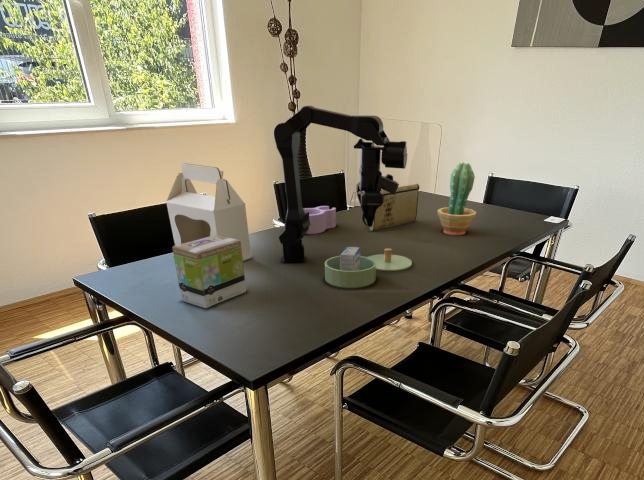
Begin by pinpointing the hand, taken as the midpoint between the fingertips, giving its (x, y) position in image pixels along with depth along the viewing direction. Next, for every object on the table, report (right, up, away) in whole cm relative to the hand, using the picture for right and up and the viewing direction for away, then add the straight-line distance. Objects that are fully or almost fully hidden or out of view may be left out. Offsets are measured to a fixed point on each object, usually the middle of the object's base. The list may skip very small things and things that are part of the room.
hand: (368, 222), depth 144 cm
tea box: (-43, -26, -15) cm, 52 cm away
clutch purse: (+10, +18, +52) cm, 56 cm away
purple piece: (-21, +15, +46) cm, 53 cm away
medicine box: (-6, -18, -3) cm, 19 cm away
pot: (-6, -18, -3) cm, 19 cm away
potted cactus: (+36, +13, +45) cm, 59 cm away
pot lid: (+7, -10, +9) cm, 15 cm away
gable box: (-52, -7, +14) cm, 54 cm away
